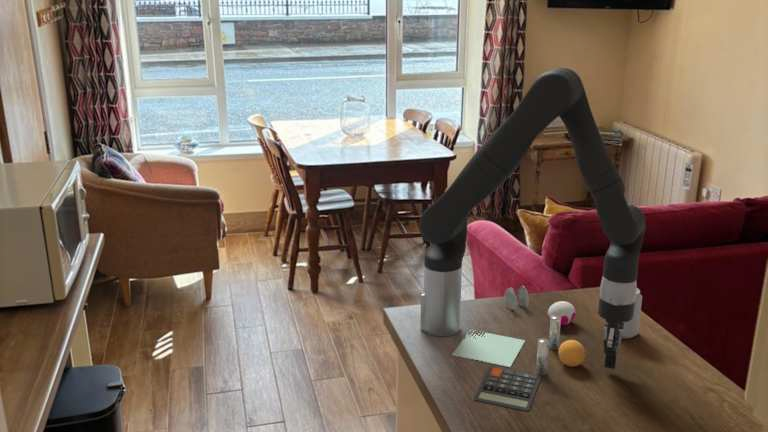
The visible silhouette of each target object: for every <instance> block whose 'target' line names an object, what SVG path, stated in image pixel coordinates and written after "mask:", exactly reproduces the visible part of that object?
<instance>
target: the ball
mask: <svg viewBox="0 0 768 432" xmlns="http://www.w3.org/2000/svg"><path fill="white" fill-rule="evenodd" d="M585 349H586V348H585V347H584V346H583V344H582V343H581V342H579V341H578V340H575V339H568V340H565V341H564V342H562V343H561V344H560V345H559V349H558V358H559V360H560V361H561V363H562V364H564V365H565V366H567V367H571V368H573V367H574V368H575V367H577V366H580V365H581V364H582V363H584V361H585V358H586V350H585Z"/></svg>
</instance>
